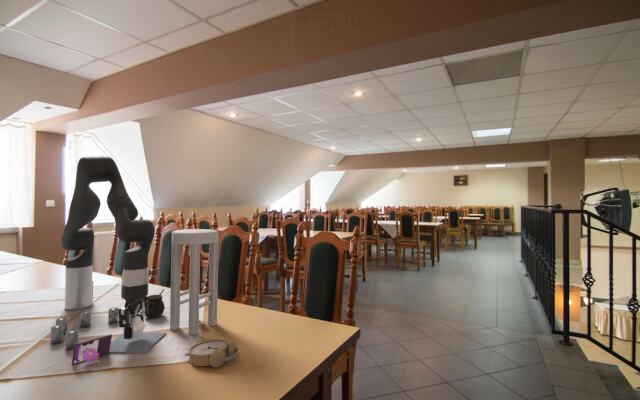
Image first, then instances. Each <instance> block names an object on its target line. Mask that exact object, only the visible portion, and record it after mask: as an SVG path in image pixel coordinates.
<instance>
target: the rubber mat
mask: <svg viewBox="0 0 640 400" xmlns="http://www.w3.org/2000/svg"><path fill="white" fill-rule="evenodd" d="M166 335H167V332H142V334H141V335H140V337H139V338H137V339H133V340H130V339H124V332H123V333H121V335H120V334H119V336H117V337H116V338H114V339H112V340H111V345H110V350H109V354H147V352H148V351H150V349H152V348H153V347H154V346H155V345H157V343H158V342H159V341H160V340H161V339H163V337H165V336H166Z"/></svg>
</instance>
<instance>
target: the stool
mask: <svg viewBox="0 0 640 400" xmlns="http://www.w3.org/2000/svg"><path fill="white" fill-rule="evenodd" d="M219 236H220V235H219V231H218V229H209V228H208V229H206V228H192V229H191V228H190V229H189V228H188V229H177V230H173V231H171V246H170V247H171V250H170V251H171V253H170V258H171V259H170V299H169V300H170V303H169V304H170V306H169V307H170V309H169V330H171V331H175V330H178V329H180V326H181V325H180V324H181V323H180V318H181V317H180V316H181V305H183V304H187V303H188V330H187V332H188V335H192V336H194V335H197V334H199V320H200V309H201V308H203V307H204V308H205V307H206V306H208V307H207V326H212V327H213V326H215V325H217V324H218V288H219V286H218V283H219V281H218V277H219ZM207 244H209V247H208V248H209V250H208V252H209V253H208V256H209V257H208V292H205V293H202V294H200V284H201V283H200V282H201V281H200V278H201V276H200V274H201V273H200V272H201V271H200V270H201V269H200V267H201V245H207ZM182 245H189V283H188V284H189V286H188V287H189V288H188V289H186V290H183V291H181V272H182V271H181V269H182V267H181V266H182V264H181V263H182V259H181V258H182ZM186 295H188V297H187V298H184V299H181V297H183V296H186ZM205 298H207V299H208V300H206V301H203V302H201V303H200V300H202V299H205Z"/></svg>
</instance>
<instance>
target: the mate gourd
mask: <svg viewBox="0 0 640 400" xmlns="http://www.w3.org/2000/svg"><path fill="white" fill-rule="evenodd" d="M164 291H165V288H163V289H162V290H161V291H160V293H158V294H151V295H148V296H149V305H148V313H147V314H145V318H147V319H158V318H160V317H161V316H163V314H164V312H165V307H166V306H165V303H164V301H163V295H162V294H163V293H164Z"/></svg>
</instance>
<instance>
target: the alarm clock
mask: <svg viewBox="0 0 640 400" xmlns="http://www.w3.org/2000/svg"><path fill="white" fill-rule="evenodd" d="M238 355H239V347H237V345H236V342H234V341H233V340H232V341H231V340H229V341H228V340H227V339H221V338H217V339H213V338H212V339H207V340H204V341H200V342H198V343H194V344H193V345H191V346H190V348H189V349H188V353H186V354H184V357H187V356H188V357H189V359H188V361H189V364H190V365H191V366H194V367H212V368H215V369H216V368H220V367H222V366H223V365H224V364H225V362H228V361H231V360H234V359H235V358H237V357H238Z"/></svg>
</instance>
